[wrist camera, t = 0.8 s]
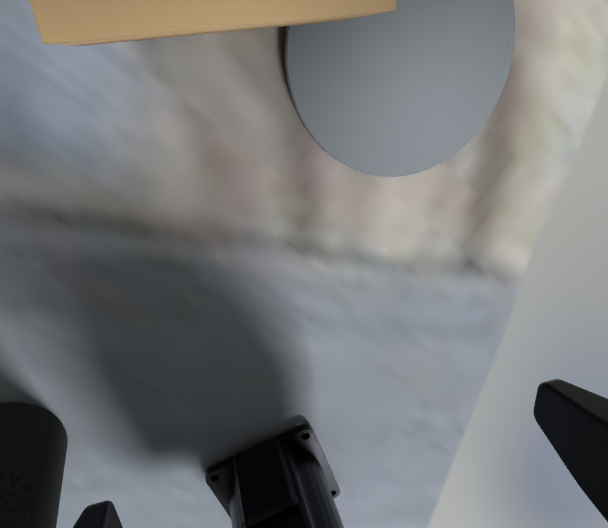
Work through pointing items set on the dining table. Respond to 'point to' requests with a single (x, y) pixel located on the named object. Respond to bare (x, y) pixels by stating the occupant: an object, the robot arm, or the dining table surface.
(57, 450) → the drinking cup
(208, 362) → the dining table surface
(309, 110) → the disc
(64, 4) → the wooden stool
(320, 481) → the robot arm
